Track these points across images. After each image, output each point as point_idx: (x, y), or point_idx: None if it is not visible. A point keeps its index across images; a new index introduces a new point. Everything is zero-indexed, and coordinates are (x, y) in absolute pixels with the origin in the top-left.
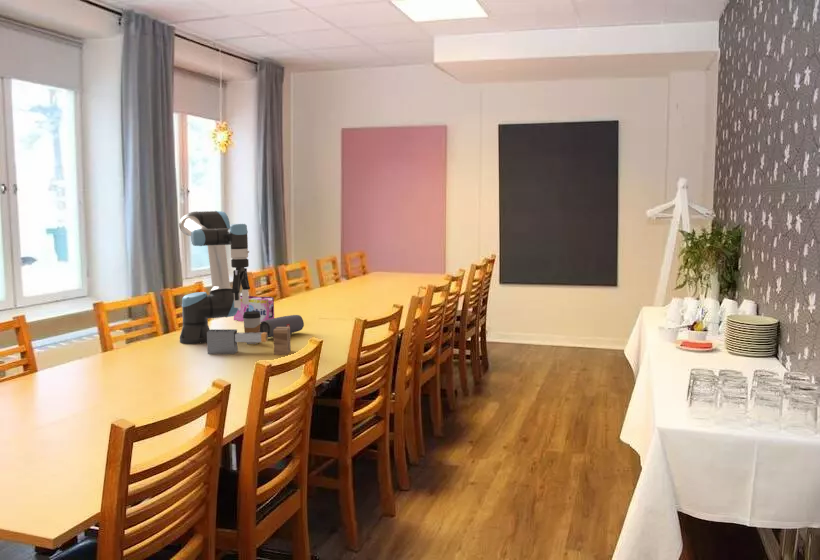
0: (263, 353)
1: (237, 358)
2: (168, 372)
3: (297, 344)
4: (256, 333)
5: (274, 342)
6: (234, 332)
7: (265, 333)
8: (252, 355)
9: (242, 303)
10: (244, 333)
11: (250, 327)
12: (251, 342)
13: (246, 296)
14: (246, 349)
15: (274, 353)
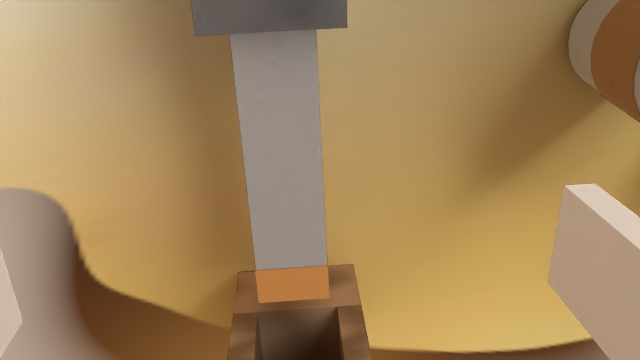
0: None
1: (79, 74)
2: None
3: (531, 327)
4: (280, 227)
5: (232, 328)
6: (234, 31)
7: (279, 297)
8: (193, 151)
9: (571, 190)
10: (272, 122)
11: (637, 74)
12: (571, 44)
13: (635, 355)
14: (392, 49)
15: (238, 278)
